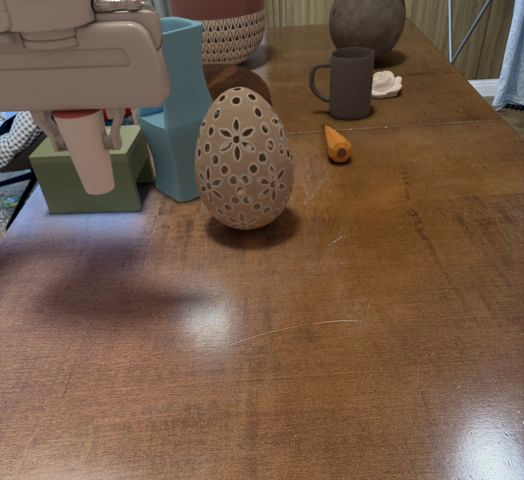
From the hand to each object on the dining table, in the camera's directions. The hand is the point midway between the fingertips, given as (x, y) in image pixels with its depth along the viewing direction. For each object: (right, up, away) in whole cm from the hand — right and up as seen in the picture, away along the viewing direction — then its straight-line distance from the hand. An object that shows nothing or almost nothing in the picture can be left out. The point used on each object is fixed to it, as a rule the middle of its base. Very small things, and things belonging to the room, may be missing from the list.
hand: (88, 149), depth 56 cm
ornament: (+17, -2, +25) cm, 30 cm away
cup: (0, -3, +3) cm, 5 cm away
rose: (+48, +40, +65) cm, 91 cm away
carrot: (+34, +19, +45) cm, 59 cm away
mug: (+37, +31, +57) cm, 74 cm away
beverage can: (-8, +16, +45) cm, 49 cm away
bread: (+7, +35, +64) cm, 73 cm away
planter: (+8, +61, +91) cm, 110 cm away
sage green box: (-9, +5, +35) cm, 36 cm away
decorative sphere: (+48, +58, +84) cm, 113 cm away
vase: (+6, +7, +36) cm, 37 cm away
